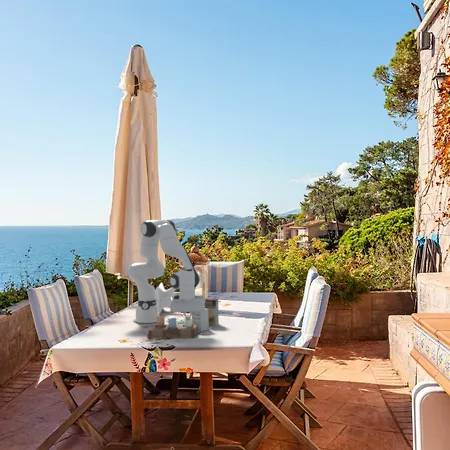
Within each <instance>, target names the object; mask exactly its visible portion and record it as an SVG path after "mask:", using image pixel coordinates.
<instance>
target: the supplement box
mask: <svg viewBox="0 0 450 450" xmlns="http://www.w3.org/2000/svg"><path fill="white" fill-rule="evenodd" d="M191 319H192V324H198V332H199V333H200V332H203V331H208V330H210V329H209V327H210V326H209V320H208V309H207V308H205V311H204V312H192V315H191Z"/></svg>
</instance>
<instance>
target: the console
mask: <svg viewBox="0 0 450 450" xmlns="http://www.w3.org/2000/svg"><path fill="white" fill-rule="evenodd" d="M147 332H148V334H147V335H148V339H195V338H196V336H197V334H198V332H199V331H198V324H192V327H184V324H177V330H168V324H165V327H157V324H153V325H152V326H151V327H150V328H149V329H148V331H147Z"/></svg>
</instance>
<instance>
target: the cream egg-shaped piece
mask: <svg viewBox="0 0 450 450" xmlns="http://www.w3.org/2000/svg"><path fill="white" fill-rule="evenodd" d="M183 323H184V324H183V325H184V327H192V318H191V320H185V319H183Z"/></svg>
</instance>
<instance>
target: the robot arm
mask: <svg viewBox="0 0 450 450" xmlns="http://www.w3.org/2000/svg"><path fill="white" fill-rule="evenodd" d="M140 230H141V234H142V236H141V237H142V238H141V243H140V249H139V250H140V251H139V252H140V255H141V256H142V257H143V258H145V259H146V261H144V262H135V263H132V264H129V266H128V268H127V271H126V272H127V276H128V277H129V279H131V280H132V281H133V282H134V284H135V285H136V288H137V293H138V294H137V295H138V300H137V307H136V308H135V319H133V320H132V321H133V323H134V322H135V323H138V324H151V323H157V316H160V314H158V308H157V306H156V299H155V290H156V288H155V287H154V285H152V284H150V283H149V279H157V278H160V277H163V275H164V274H165V268H166V267H165V266H164V264H163V263H162V262H161V261H160V259H159V255H158V253H159V251H158V250H159V244H160V248H161V250H162V252H163V253H164V254H166V255H167V256H170V257H173V258H177V260H179V261H181V263H182V265H183V267H181V268H180V269H179V271H176V272H174V273H172V274H171V275H170V277H169V284H170V286H171V288H172V287H173V288H174V289H176V290H179V293H175V294H172V295H171V300H172V301H171V305H170V308H169V309H170V312H171V313H182V314H183V316H184V318H185V320H191V319H192V312H204V311H205V301H206V299H207V298H206V296H204V295H196V288H197V287H198V286H199V284H200V282H201V278H200V275H199V273H198V271H196V269H195V267H194V264H193V262H192V259H191V258H190V256H189V252H188V251H187V249H186V248H185V247H183V246H182V244H181V243H180V241H179V239H178V235H177V233H176V224H175V223H174V221H172V220H170V219H151V220H150V219H149V220H144V221H143V222H142V224H141V227H140ZM187 313H189V315H187Z"/></svg>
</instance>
